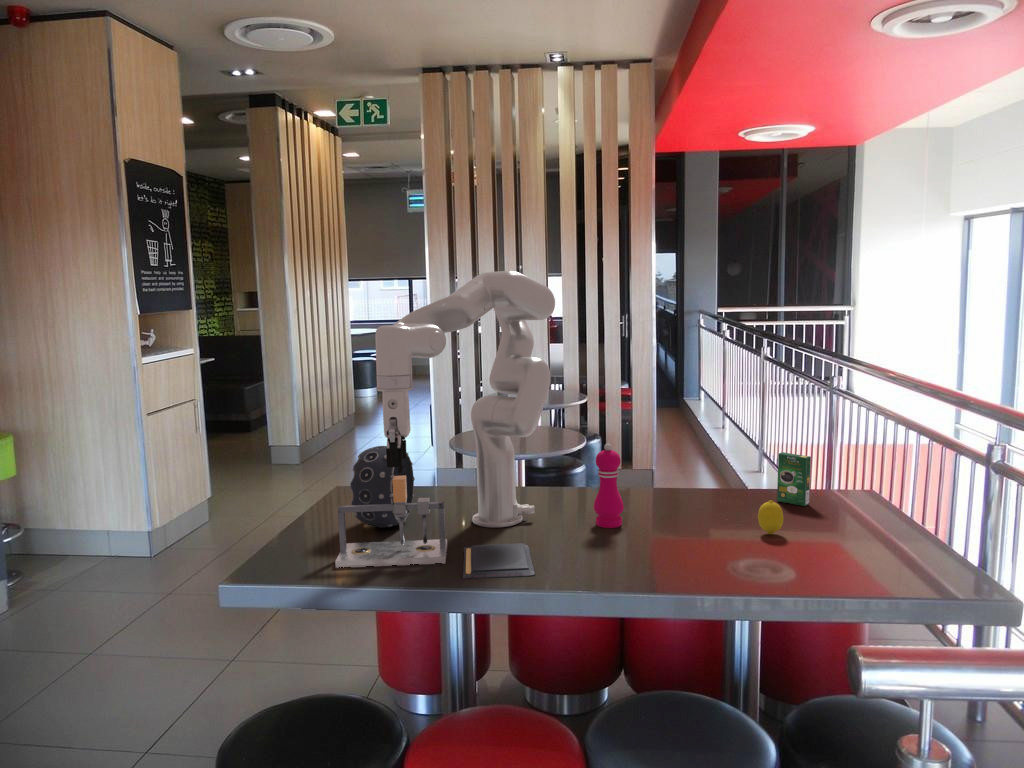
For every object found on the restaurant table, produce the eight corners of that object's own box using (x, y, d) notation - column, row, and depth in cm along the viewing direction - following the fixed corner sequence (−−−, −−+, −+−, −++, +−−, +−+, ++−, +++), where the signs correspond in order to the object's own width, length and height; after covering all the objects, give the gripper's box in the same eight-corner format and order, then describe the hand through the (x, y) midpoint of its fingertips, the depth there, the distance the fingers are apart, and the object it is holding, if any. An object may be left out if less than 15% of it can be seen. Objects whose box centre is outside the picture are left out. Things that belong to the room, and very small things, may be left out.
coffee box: (811, 504, 199) (811, 455, 197) (806, 507, 197) (806, 457, 195) (781, 499, 205) (782, 451, 203) (776, 501, 203) (776, 453, 201)
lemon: (787, 533, 175) (787, 499, 174) (776, 539, 171) (777, 504, 170) (764, 529, 179) (764, 496, 178) (753, 535, 175) (753, 500, 174)
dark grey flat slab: (535, 570, 152) (459, 573, 152) (535, 580, 152) (459, 582, 152) (530, 539, 172) (463, 542, 172) (531, 547, 172) (463, 550, 172)
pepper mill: (590, 527, 184) (589, 445, 182) (598, 519, 191) (597, 440, 189) (619, 530, 182) (618, 447, 180) (627, 521, 188) (626, 441, 186)
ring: (418, 515, 200) (415, 439, 197) (392, 538, 180) (388, 455, 178) (379, 514, 201) (375, 439, 199) (349, 537, 182) (345, 454, 180)
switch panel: (447, 545, 174) (445, 492, 172) (445, 563, 162) (443, 506, 160) (345, 549, 172) (342, 496, 171) (335, 568, 161) (332, 510, 159)
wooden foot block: (409, 541, 169) (406, 475, 167) (407, 547, 165) (404, 479, 164) (397, 542, 169) (394, 475, 167) (395, 547, 165) (392, 479, 163)
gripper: (409, 386, 155) (411, 470, 156) (415, 379, 172) (417, 454, 173) (371, 387, 154) (374, 471, 156) (381, 380, 171) (384, 455, 173)
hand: (396, 462), depth 165 cm, fingers open, 9 cm apart
